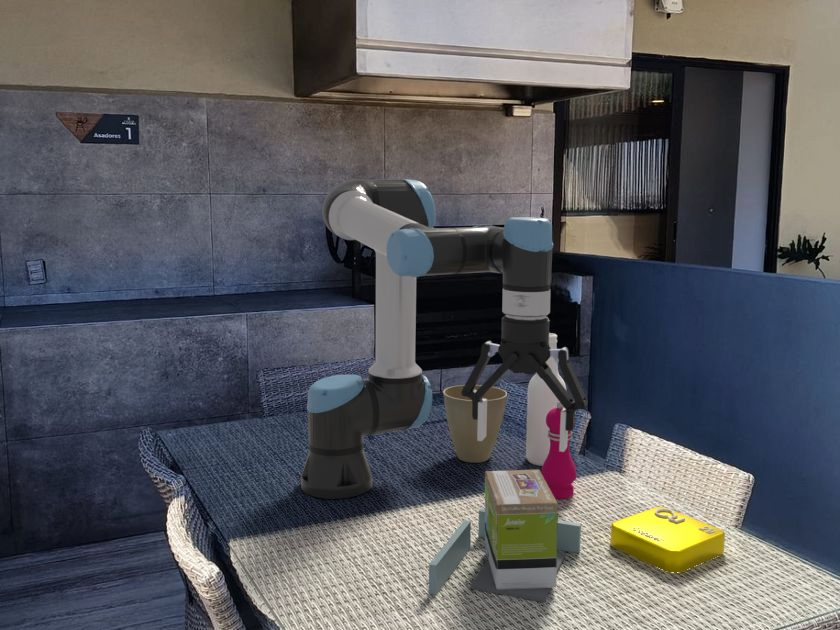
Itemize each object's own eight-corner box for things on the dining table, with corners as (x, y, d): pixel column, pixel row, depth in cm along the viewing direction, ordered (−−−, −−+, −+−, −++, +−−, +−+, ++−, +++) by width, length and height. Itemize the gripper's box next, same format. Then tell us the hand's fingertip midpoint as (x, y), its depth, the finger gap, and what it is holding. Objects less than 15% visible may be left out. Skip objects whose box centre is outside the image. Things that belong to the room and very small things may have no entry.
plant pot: (487, 473, 182) (488, 404, 180) (430, 461, 190) (431, 394, 188) (516, 454, 195) (518, 389, 192) (462, 443, 203) (462, 381, 200)
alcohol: (566, 456, 193) (570, 332, 188) (560, 469, 185) (564, 339, 180) (530, 452, 196) (533, 329, 191) (522, 464, 188) (525, 336, 183)
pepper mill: (575, 501, 166) (578, 406, 163) (539, 498, 168) (542, 404, 165) (576, 488, 173) (579, 397, 170) (541, 486, 175) (544, 395, 172)
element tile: (605, 545, 147) (606, 520, 147) (659, 525, 156) (660, 502, 155) (674, 578, 135) (675, 551, 134) (728, 554, 144) (730, 529, 143)
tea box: (482, 548, 144) (483, 468, 141) (539, 547, 144) (541, 467, 142) (494, 591, 129) (496, 502, 126) (557, 589, 129) (560, 501, 127)
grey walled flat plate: (428, 593, 129) (428, 564, 128) (474, 533, 151) (474, 507, 151) (551, 617, 122) (552, 586, 121) (580, 550, 144) (581, 523, 144)
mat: (470, 588, 131) (470, 585, 131) (498, 544, 147) (498, 541, 146) (544, 602, 127) (544, 598, 127) (565, 555, 142) (565, 552, 142)
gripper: (443, 313, 130) (442, 441, 134) (601, 325, 122) (595, 461, 125) (458, 306, 137) (456, 428, 141) (609, 317, 129) (602, 446, 132)
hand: (521, 443), depth 133 cm, fingers open, 13 cm apart
